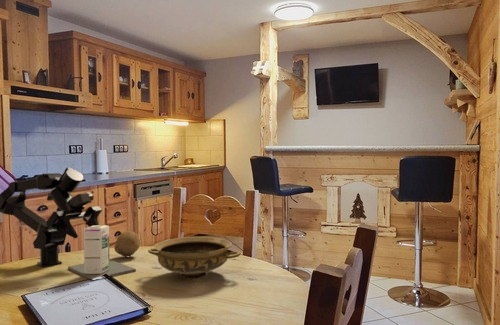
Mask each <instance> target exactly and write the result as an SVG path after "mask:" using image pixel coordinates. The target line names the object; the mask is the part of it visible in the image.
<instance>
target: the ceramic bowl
mask: <svg viewBox="0 0 500 325" xmlns="http://www.w3.org/2000/svg"><path fill="white" fill-rule="evenodd" d="M232 245H233V243H232V241H230V240H229V239H225V238H223V237H214V236H183V237H177V238H176V237H175V238H171V239H170V238H169V239H166V240H163V241H160V242H158V243H156V244H154V246H153V248H148V250H147V251H148V253H149V254H151V255H154V256H156V257H157V261H158V263H159V265H160V266H161V268H164V269H165V270H167V271H170V272H172V273H177V274H180V277H181V278H182V279H186V280H195V279H196V280H197V279H202V278H205V277H206V276H207V275H208V274H207V272H210V271H213V270H215V269H216V270H217V269H218V268H220V267H221V266H223V265H224V264H225V263H226V262H227V261H228V259H233V258H234V259H235V258H238V257H239V256H241V252H240V251H228V249H230V248H231V247H232Z"/></svg>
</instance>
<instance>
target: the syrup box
mask: <svg viewBox="0 0 500 325" xmlns="http://www.w3.org/2000/svg"><path fill="white" fill-rule="evenodd" d="M109 259H110V225H108V224H107V225H106V224H105V225H104V224H98V225H96V226H91V227H89V226H88V227H84V228H83V264H84V273H85V274H102V273H103V272H105V271H107V270H109Z"/></svg>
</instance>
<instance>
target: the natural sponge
mask: <svg viewBox="0 0 500 325" xmlns="http://www.w3.org/2000/svg"><path fill="white" fill-rule="evenodd" d="M140 246H141V240H140V238H139V235H138V234H137V233H136V232H134V231H132V230H126V231H125V230H124V231H123V232H122V233H120V234H119V236H118V237H117V239H116V241H115V244H114V252H116V253H117V254H118V255H120V256H122V257H124V256H130V257H132V256H133V255H134V254H135V253H136V252H137V251H138V250H139V248H140ZM131 255H132V256H131Z"/></svg>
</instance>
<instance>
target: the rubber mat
mask: <svg viewBox="0 0 500 325" xmlns="http://www.w3.org/2000/svg"><path fill="white" fill-rule="evenodd" d="M67 269H68V271H69V270H70V271H72V272H73V273H76V274H78V275H80V276H82V277H84V278H86V279H88V280H90V278H94V277H98V276H101V275H104V274H108V275H110V276H112V277H116V276H121V275H125V274H130V273H135V272H136V271H137V270H136V268H134V267H131V266H129V265H126V264H123V263H121V262H117V261H115V260H113V259H110V258H109V270H107V271H105V272H103V273H102V274H85V273H84V263H80V264H75V265H69V266H67ZM112 277H111V278H112Z"/></svg>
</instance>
